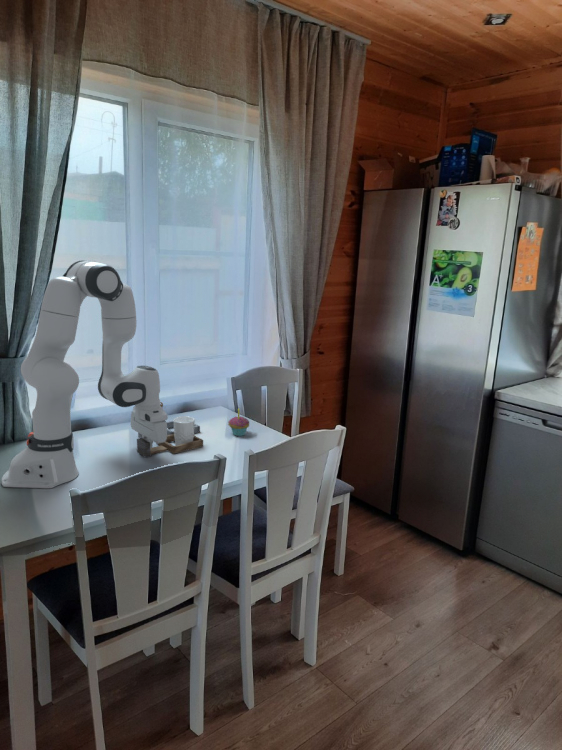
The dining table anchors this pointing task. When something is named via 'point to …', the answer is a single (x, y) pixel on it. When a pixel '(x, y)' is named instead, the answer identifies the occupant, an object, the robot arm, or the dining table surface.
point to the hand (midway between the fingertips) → (148, 447)
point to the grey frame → (169, 432)
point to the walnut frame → (166, 446)
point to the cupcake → (238, 425)
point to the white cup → (183, 429)
